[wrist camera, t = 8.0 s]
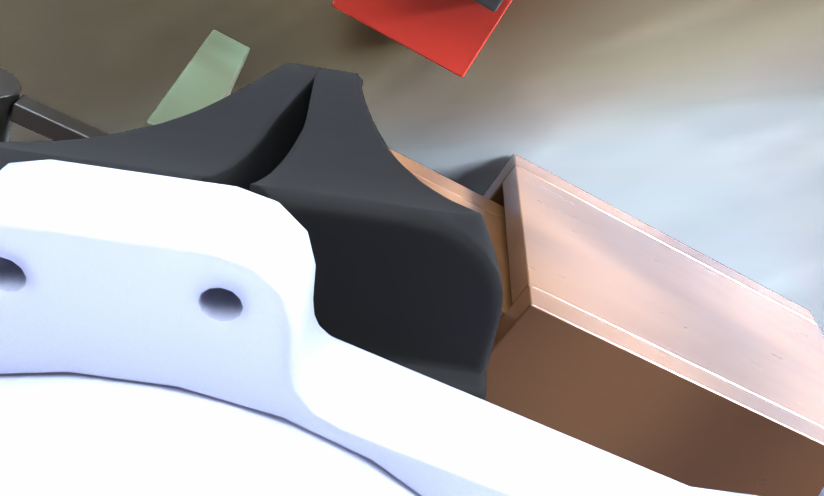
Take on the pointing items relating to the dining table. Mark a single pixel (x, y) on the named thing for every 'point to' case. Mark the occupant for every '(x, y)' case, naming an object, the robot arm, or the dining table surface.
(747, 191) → the dining table surface
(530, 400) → the cabinet
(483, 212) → the drawer
